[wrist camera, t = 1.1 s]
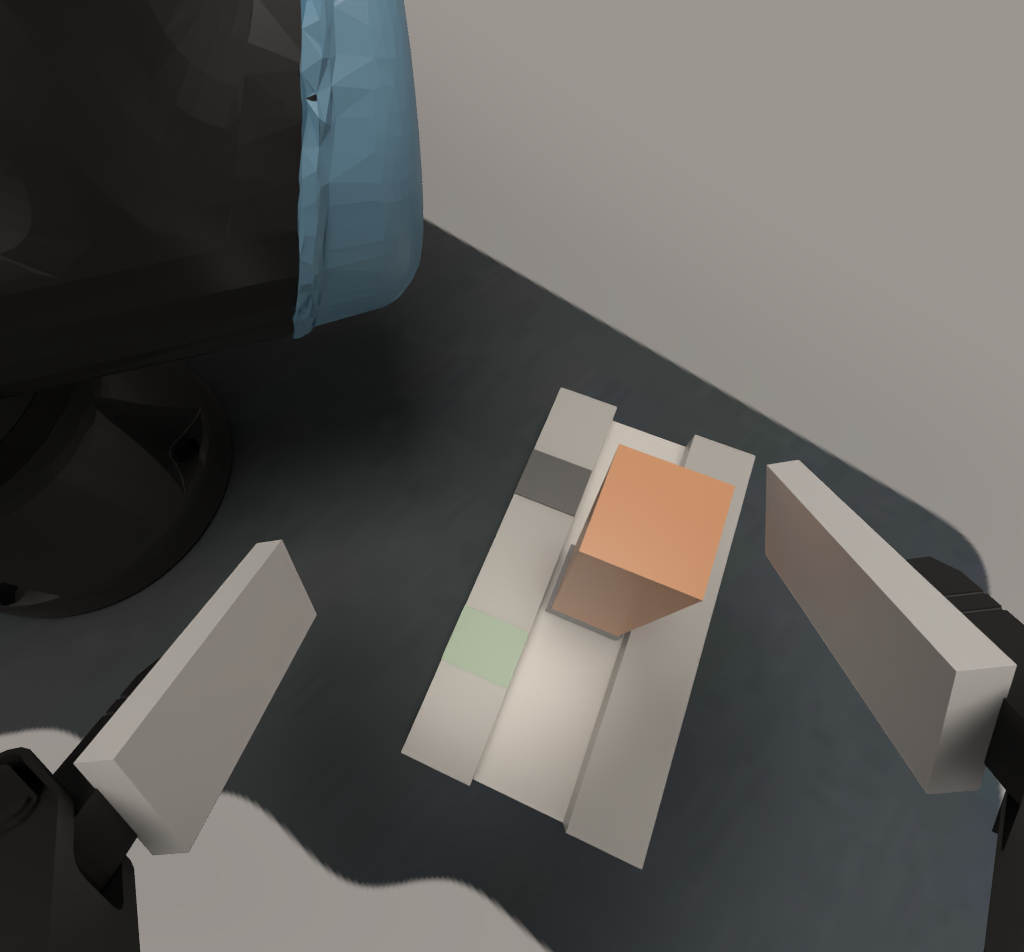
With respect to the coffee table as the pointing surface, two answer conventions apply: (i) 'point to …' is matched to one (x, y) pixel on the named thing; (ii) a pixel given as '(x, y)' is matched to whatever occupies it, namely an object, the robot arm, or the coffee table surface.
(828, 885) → the coffee table surface
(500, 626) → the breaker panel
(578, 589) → the handle
